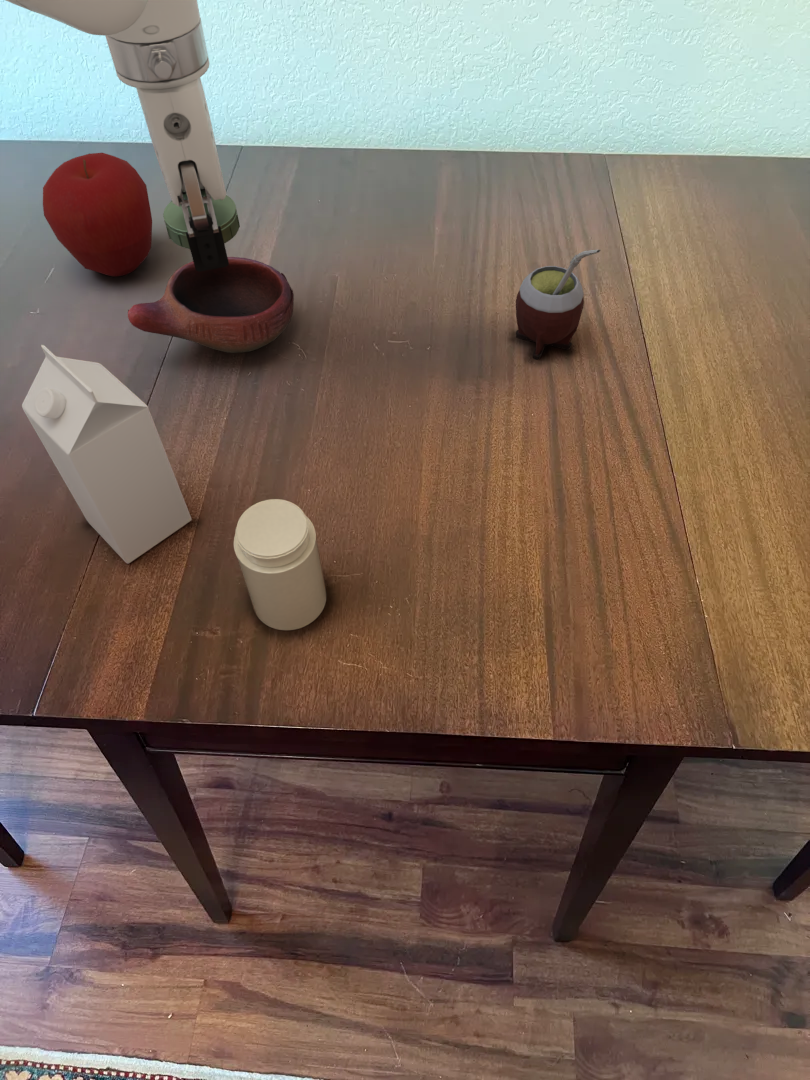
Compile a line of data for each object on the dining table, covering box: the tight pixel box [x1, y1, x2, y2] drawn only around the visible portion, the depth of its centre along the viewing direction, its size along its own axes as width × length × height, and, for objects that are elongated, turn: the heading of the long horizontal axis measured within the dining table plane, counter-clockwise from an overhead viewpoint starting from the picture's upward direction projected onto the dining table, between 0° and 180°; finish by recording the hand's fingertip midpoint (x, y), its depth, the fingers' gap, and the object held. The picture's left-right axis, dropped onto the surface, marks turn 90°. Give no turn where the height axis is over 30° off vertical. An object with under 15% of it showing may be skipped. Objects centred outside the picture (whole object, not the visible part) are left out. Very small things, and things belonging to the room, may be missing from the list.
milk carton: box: [21, 344, 193, 565], centre depth 65 cm, size 7×7×19 cm
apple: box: [42, 152, 153, 277], centre depth 90 cm, size 12×12×13 cm
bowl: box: [127, 256, 295, 354], centre depth 84 cm, size 16×13×8 cm
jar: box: [233, 498, 327, 631], centre depth 64 cm, size 6×6×11 cm
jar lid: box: [162, 191, 241, 250], centre depth 75 cm, size 7×7×2 cm
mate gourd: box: [515, 249, 601, 360], centre depth 81 cm, size 8×8×15 cm
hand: (207, 243), depth 77 cm, fingers closed on jar lid, 6 cm apart
